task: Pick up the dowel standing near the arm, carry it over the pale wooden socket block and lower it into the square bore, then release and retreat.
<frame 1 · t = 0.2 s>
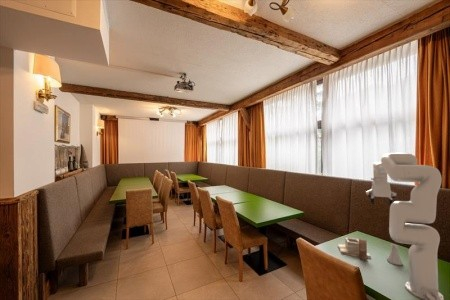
hand: (381, 204, 132), 31 cm above the table, fingers open, 9 cm apart
dowel: (362, 259, 119), on the table
flask: (394, 262, 116), on the table
socket block: (353, 251, 128), on the table
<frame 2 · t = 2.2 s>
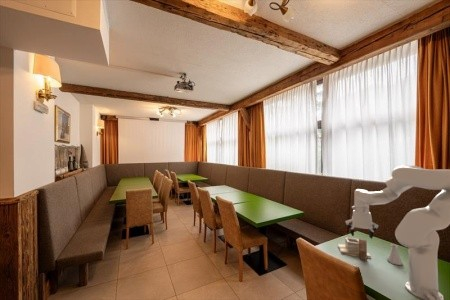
hand: (361, 236, 120), 14 cm above the table, fingers open, 9 cm apart
nothing on the table moved.
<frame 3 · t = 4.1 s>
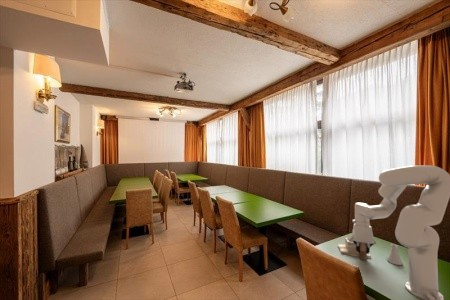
hand: (362, 252, 119), 4 cm above the table, fingers closed on dowel, 4 cm apart
dowel: (362, 259, 119), on the table, touching gripper
everything else where it was.
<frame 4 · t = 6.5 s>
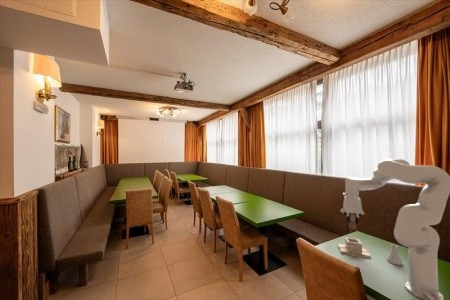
hand: (352, 222, 129), 20 cm above the table, fingers closed on dowel, 4 cm apart
dowel: (352, 228, 129), point 15 cm above the table, touching gripper
everything else where it was.
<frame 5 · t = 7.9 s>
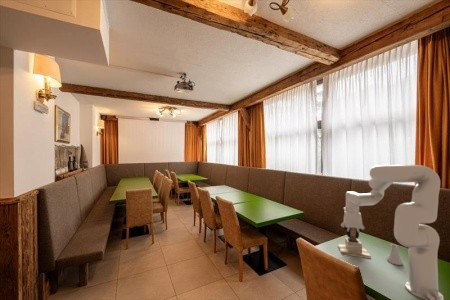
hand: (352, 237, 129), 10 cm above the table, fingers closed on dowel, 4 cm apart
dowel: (352, 243, 129), point 5 cm above the table, touching gripper
everything else where it was.
when the fingers open (9 cm above the table, at t = 8.8 s): dowel drops 3 cm, resting on socket block.
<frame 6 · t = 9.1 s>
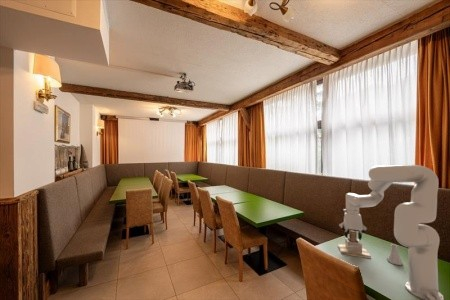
hand: (353, 238, 129), 9 cm above the table, fingers open, 7 cm apart
dowel: (353, 249, 128), point 2 cm above the table, touching socket block
everything else where it was.
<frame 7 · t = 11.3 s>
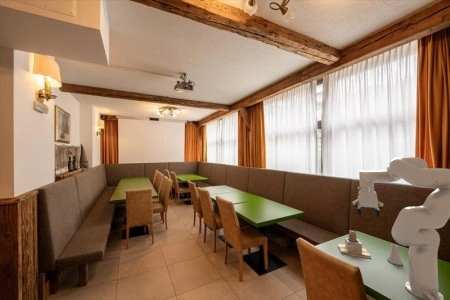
hand: (368, 215, 124), 26 cm above the table, fingers open, 9 cm apart
nothing on the table moved.
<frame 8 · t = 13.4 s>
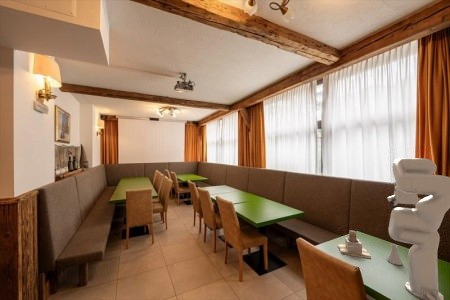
hand: (405, 212, 115), 30 cm above the table, fingers open, 9 cm apart
nothing on the table moved.
at the end: dowel 0.1 cm off-centre on the socket block, point 1.5 cm above the socket block's base; dowel tilted 1°; the gripper is holding nothing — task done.
